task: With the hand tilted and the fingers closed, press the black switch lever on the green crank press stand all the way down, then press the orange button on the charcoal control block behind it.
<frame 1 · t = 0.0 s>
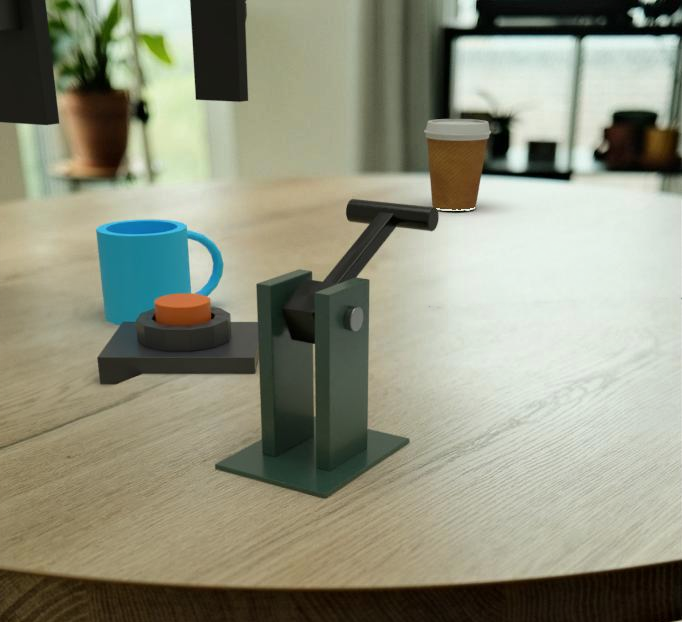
hand: (136, 111, 46), 22 cm above the table, tool pointing down, fingers open, 13 cm apart
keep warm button: (183, 310, 81), point 4 cm above the table, slide at 0.1 cm
disposable coffee cup: (453, 210, 149), on the table
switch lever: (351, 264, 62), point 12 cm above the table, hinge at 25.0°
green crank press stand: (315, 468, 64), on the table
mug: (168, 314, 97), on the table
control block: (186, 364, 83), on the table
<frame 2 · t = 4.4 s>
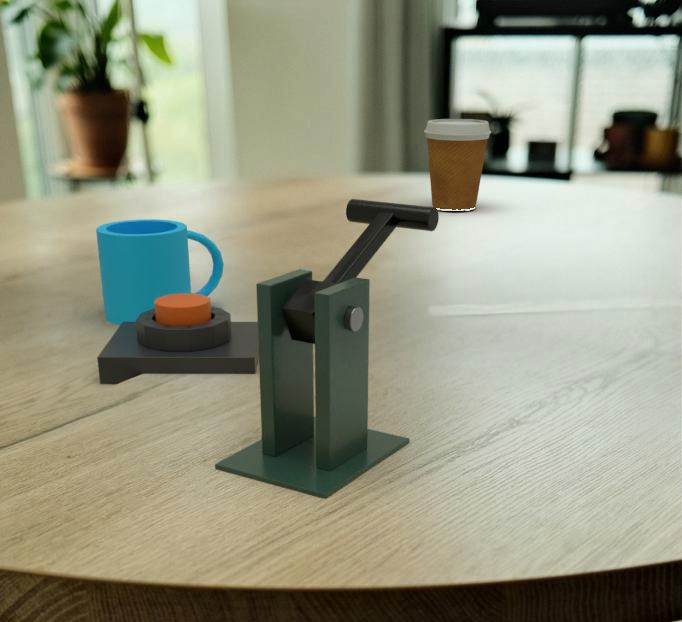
nothing on the table moved.
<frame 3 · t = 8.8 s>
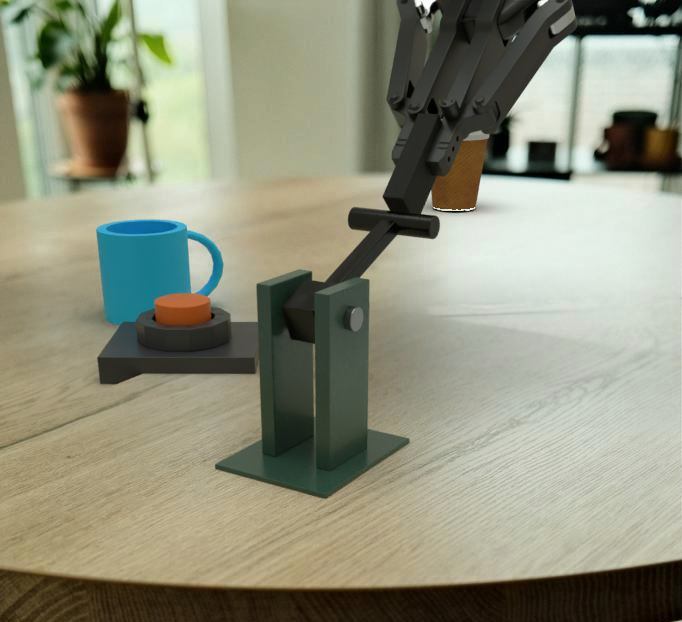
hand: (399, 210, 65), 14 cm above the table, tool tilted 45°, fingers closed
switch lever: (352, 268, 62), point 12 cm above the table, hinge at 21.6°, touching gripper
everything else where it was.
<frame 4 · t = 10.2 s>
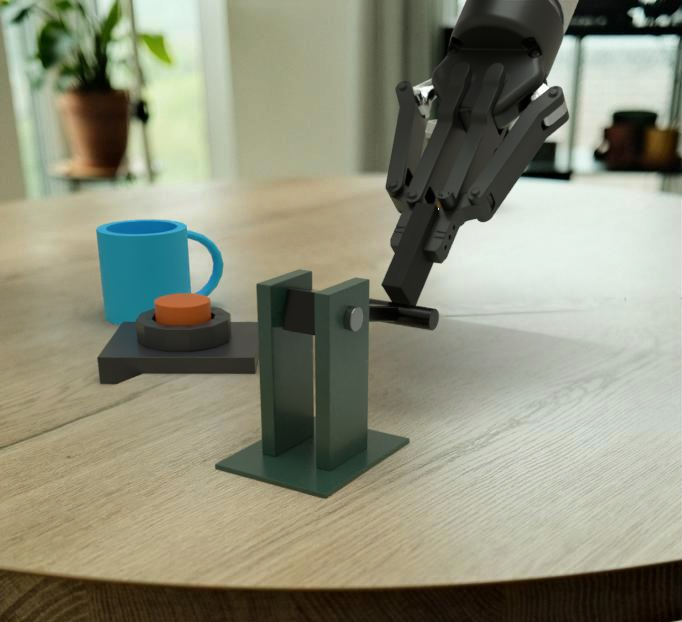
hand: (398, 297, 68), 9 cm above the table, tool tilted 45°, fingers closed
switch lever: (353, 312, 63), point 9 cm above the table, hinge at -13.3°, touching gripper
everything else where it was.
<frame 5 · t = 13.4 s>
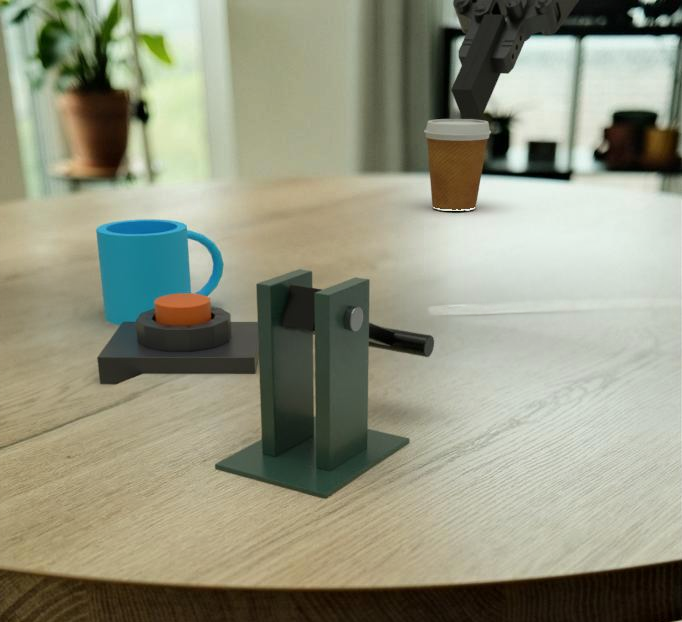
hand: (466, 104, 70), 20 cm above the table, tool tilted 45°, fingers closed
switch lever: (351, 325, 64), point 8 cm above the table, hinge at -23.2°
everything else where it was.
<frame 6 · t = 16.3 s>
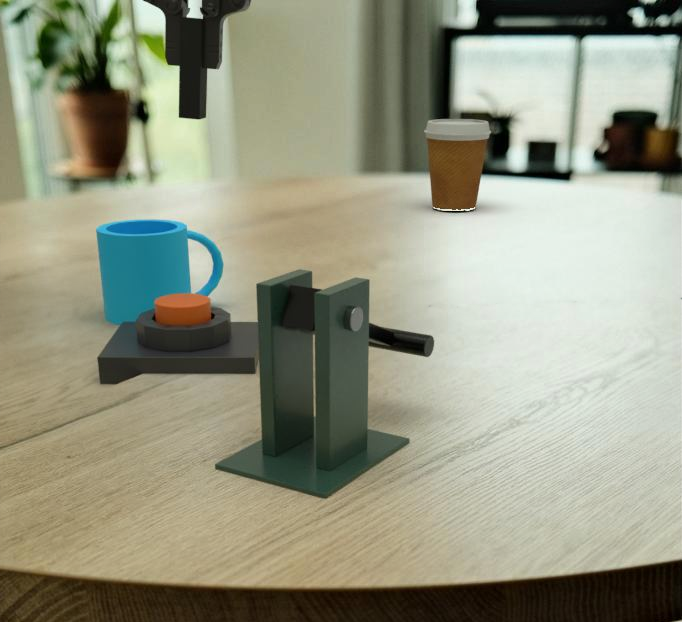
hand: (192, 117, 74), 19 cm above the table, tool pointing down, fingers closed
nothing on the table moved.
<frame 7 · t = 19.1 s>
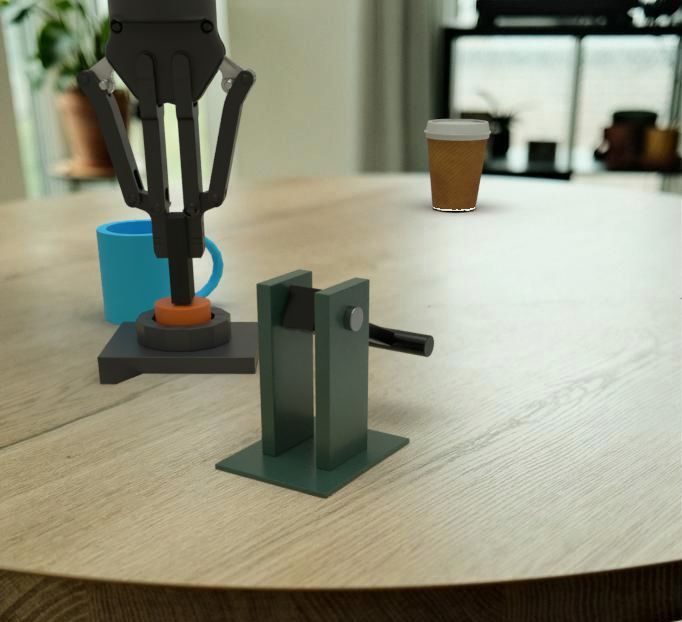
hand: (183, 299, 80), 5 cm above the table, tool pointing down, fingers closed
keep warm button: (183, 312, 81), point 4 cm above the table, slide at -0.1 cm, touching gripper
everything else where it was.
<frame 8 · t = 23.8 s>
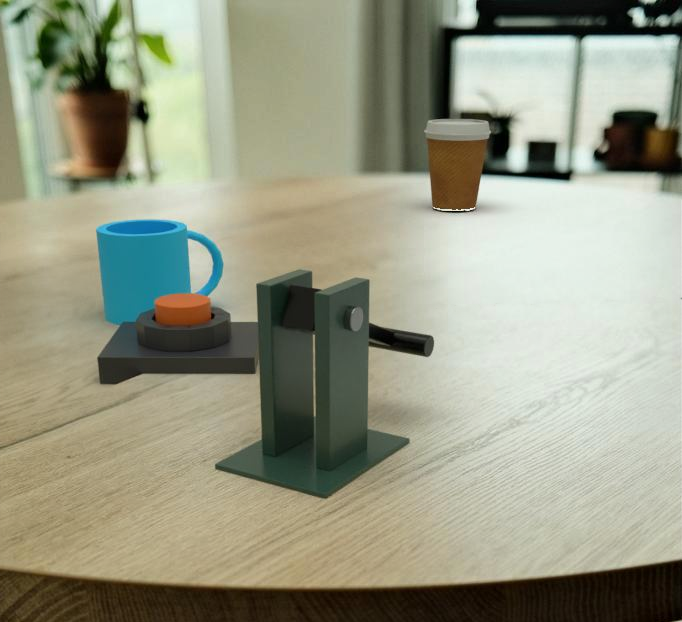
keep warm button: (183, 310, 81), point 4 cm above the table, slide at 0.1 cm
everything else where it was.
at the end: switch lever at -23° (first picture: +25°); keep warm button pushed in 1.0 cm at the most during the clip, back to where it started at the end; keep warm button slide at 0.1 cm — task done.
